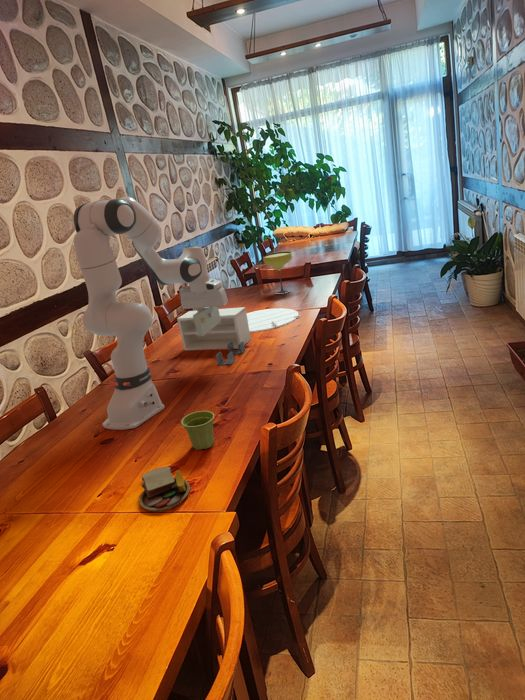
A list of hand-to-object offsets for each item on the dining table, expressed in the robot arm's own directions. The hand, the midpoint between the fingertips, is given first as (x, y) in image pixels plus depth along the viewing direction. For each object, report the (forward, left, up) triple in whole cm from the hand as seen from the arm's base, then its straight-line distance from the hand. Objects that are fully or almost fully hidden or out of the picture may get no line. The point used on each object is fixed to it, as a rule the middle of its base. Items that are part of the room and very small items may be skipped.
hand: (207, 317), depth 197 cm
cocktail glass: (+116, +7, -20) cm, 118 cm away
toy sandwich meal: (-89, -28, -20) cm, 95 cm away
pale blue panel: (0, 0, -5) cm, 5 cm away
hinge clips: (+3, -6, -20) cm, 21 cm away
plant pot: (-65, -27, -20) cm, 74 cm away
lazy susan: (+56, -1, -20) cm, 59 cm away
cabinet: (+20, +9, -20) cm, 29 cm away
